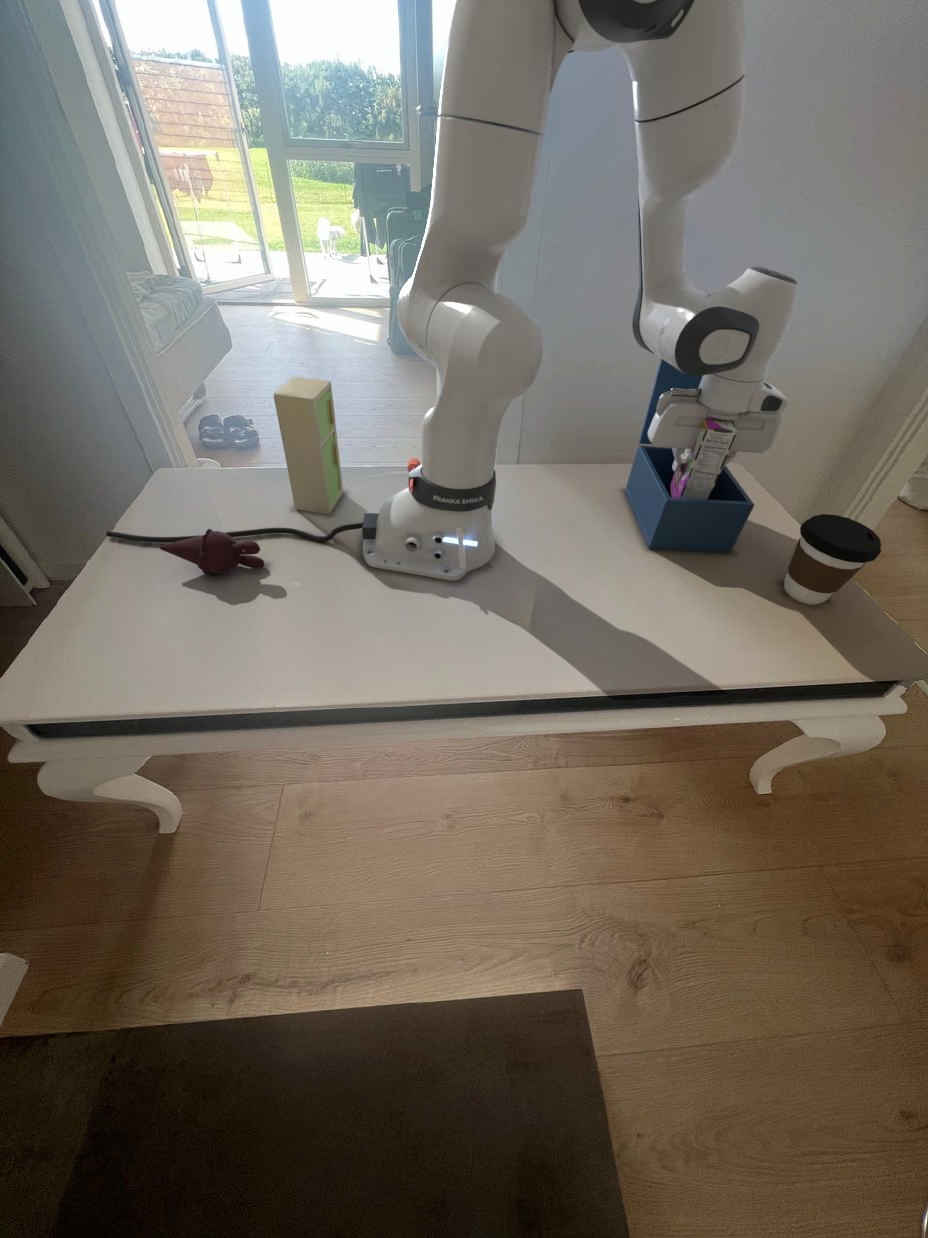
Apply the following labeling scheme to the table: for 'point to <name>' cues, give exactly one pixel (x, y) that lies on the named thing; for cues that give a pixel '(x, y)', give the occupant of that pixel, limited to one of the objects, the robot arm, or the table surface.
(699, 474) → the candy bar box
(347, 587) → the table surface
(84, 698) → the table surface
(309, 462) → the toy refrigerator
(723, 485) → the cool box
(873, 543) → the coffee cup
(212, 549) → the icecream
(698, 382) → the lid
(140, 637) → the table surface
